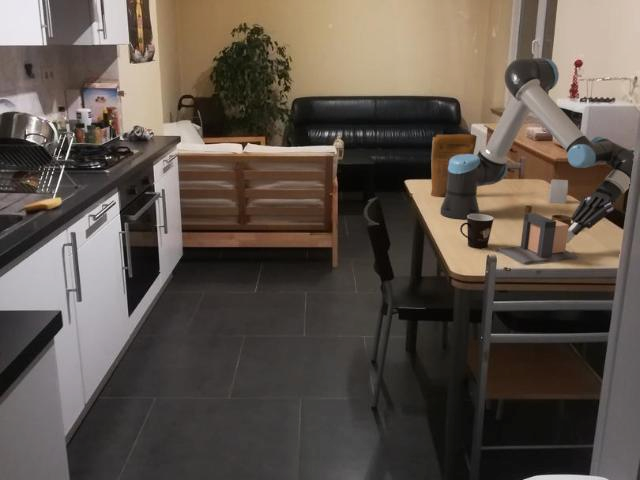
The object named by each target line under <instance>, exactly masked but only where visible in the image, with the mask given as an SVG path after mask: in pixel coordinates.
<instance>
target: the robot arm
mask: <svg viewBox="0 0 640 480" xmlns="http://www.w3.org/2000/svg"><path fill="white" fill-rule="evenodd" d="M559 77H560V74H559V69H558V66H557V65H556V64H555V62H554V61H553V60H551V59H550V58H549V59H548V58H543V57H537V58H536V57H532V58H531V57H530V58H529V57H520V58H517V59H515V60H513V61H511V62H510V64H509V65H508V66H507V68H506V69H505V71H504V83H505V86H506V88H507V89H508V92H509V93H510V94H511V97H510V99H509V102H508V104H507V105H506V107H505V109H504V111H503V113H502V115H501V116H500V118H499V121H498V123H496V124H497V125H496V127H495V128H494V131H493V133H492V134H491V136H490V138H489V140H488V142H487V143H486V145H485V146H482V147H481V148H480V149H479V151H478V153H477V155H476V154H474V155H473V154H464V155H463V154H461V155H456V156H453V157H452V158H451V159H450V161H449V166H448V178H447V192H446V196H445V197H444V199H443V201H442V204H441V207H440V212H439V213H440V215H442V216H443V217H445V218H451V219H456V220H457V219H458V220H467V216H468V215H470V214H480V207H479V203H478V199H477V194H478V193H477V191H478V187H482V186H490V185H494V184H496V183H499V182H501V181H502V180H503V179H504V178H505V177H506V175H507V172H508V167H507V166H508V159H509V158H508V157H507V155H508V152H509V151H510V150H511V147H512V145H513V144H514V142H515V140H516V138H517V137H518V135H519V132H520V131H521V129H522V128H523V126H524V124H525V122H526V120H527V118H528V117H529V115H530V113H532V114H533V115H534V117H535V118H536V119H537V120H538V121H539V122H540V123H541V124H542V125H543V127H544V128H545V129H546V130H547V131H548V132H549V133H550V134H551V135H552V137H553V138H554V139H555V140H556V141H557V142H558V143H559V145H561V147H562V148H563V149H564V150H565V152H566V154H567V155H566V156H567V160H568V161H567V162H568V163H569V165H570V166H572V167H573V168H576V169H585V168H589V167H595V166H602V165H606V166H607V167H609V168H611V169H612V170H611V172H609V174H608V175H607V176H606V177H605V178H604V180H602V181H600V182H601V183H599V184H598V185H597V187H596V189H595V192H594V193H593V194H591V195H590V196H588V197H587V196H585V195H584V196H582V197H581V201H580V203H579V205H578V206H577V208H575V211H574V212H573V214H572V215H571V216H570V217H571V223H572V224H571V225H570V226H569V228H568V235H567V242H566V244H569V243H570V242H571V240H573V239H574V237H576V236H577V235H579V234H580V232H582V231H583V230H584V229H591V228H593V226H595V225H596V224H597V223H599V222H600V221H601V220H602V219H604V218H605V217H606V216H607V215H609V214H611V213H613V212H614V211H615V209H614V207H613V206H612V205H613V203H616V202H617V201H618V200H619V199H620V198H621V197H622V196H623V194H625V193H626V191H627V190H629V188H630V187H629V184H630V176H631V168H632V159H633V152H634V147H632V148H631V149H628V148H626V147H623V146H622V145H620V144H618V143H615V142H614V141H611V140H610V138H609V139H608V138H606V137H603V136H595V137H594V138H592V139H591V140H590V139H588V137H587V136H586V135H585V134H584V133H583V132H582V131H581V129H580V128H579V127H578V126H577V125H576V124H575V123H574V122H573V121H572V120H571V118H570V117H569V116H568V115H567V114H566V113H565V112H564V111H563V109H561V107H560V105H558V104H557V103H556V102H555V100H553V98H551V96H550V95H549V94H548V93H547V92H550V91H551V90H552V89H554V88H555V87H556V85H557V84H558V81H559ZM582 229H583V230H582Z"/></svg>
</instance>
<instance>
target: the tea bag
mask: <svg viewBox="0 0 640 480" xmlns="http://www.w3.org/2000/svg"><path fill="white" fill-rule="evenodd" d="M550 180H551V181H550V185H549V191H548V198H547V199H548V200H547V201H548V203H549V204H559V205H560V204H561V205H562V204H563V205H564V204H565V205H566V203H567V197H568V189H569V180H568V179H554V178H552V179H550Z"/></svg>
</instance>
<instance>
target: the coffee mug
mask: <svg viewBox="0 0 640 480" xmlns="http://www.w3.org/2000/svg"><path fill="white" fill-rule="evenodd" d="M494 220H495V219H494V217H493V216H491V215H488V214H482V213H479V214H470V215H468V216H467V219H466V222H464V223H462V224H461V226H460V227H459V232H460V234H462V236H463V237H464V238H467V246H468V247H469V248H472V249H477V250H483V249H482V248H484V249H487V248H488V245H489V241H490V236H491V232H492V228H493V223H494ZM465 225H467V228H466V229H467V235H466V234H465V233H464V232H463V227H464V226H465Z"/></svg>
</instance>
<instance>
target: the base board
mask: <svg viewBox="0 0 640 480" xmlns="http://www.w3.org/2000/svg"><path fill="white" fill-rule="evenodd" d="M497 252H499V253H500V254H503V255H505V256H507V257H508V258H510V259H512V260H514V261H515V262H518V263H519V264H521V265H534V264H542V263H552V262H553V263H554V262H561V261H570V260H579V255H577V254H575V253H573V252H571V251H568V250H566V249H565V252H558V253H552V257H544V258H540V257H538V256H537V253H535V252H533V251H531V250H529V249H525V250H524V249H522V248H521V245H516V246H507V247H506V246H505V247H498V248H497Z"/></svg>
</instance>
